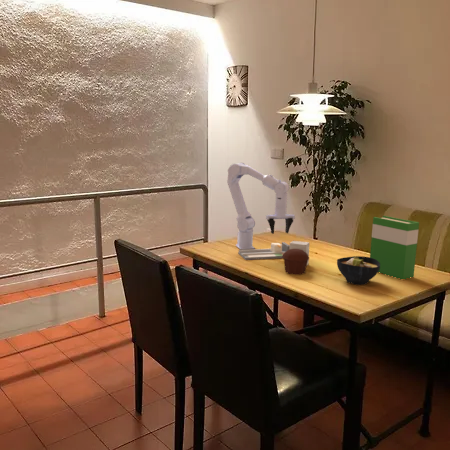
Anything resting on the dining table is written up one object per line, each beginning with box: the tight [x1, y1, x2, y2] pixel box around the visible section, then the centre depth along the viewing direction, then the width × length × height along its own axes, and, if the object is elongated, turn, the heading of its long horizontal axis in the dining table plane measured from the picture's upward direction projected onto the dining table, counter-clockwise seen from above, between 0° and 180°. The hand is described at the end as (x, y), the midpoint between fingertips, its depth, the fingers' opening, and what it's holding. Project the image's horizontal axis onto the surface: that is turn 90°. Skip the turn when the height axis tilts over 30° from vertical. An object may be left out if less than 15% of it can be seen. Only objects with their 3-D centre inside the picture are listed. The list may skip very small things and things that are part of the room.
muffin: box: [282, 249, 310, 276], centre depth 208 cm, size 12×11×10 cm
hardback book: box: [369, 215, 420, 280], centre depth 208 cm, size 18×7×24 cm, turn 34°
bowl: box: [336, 255, 380, 286], centre depth 196 cm, size 17×17×10 cm
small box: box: [289, 240, 310, 266], centre depth 219 cm, size 8×6×10 cm
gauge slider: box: [270, 242, 282, 252], centre depth 236 cm, size 8×4×4 cm, turn 14°
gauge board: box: [238, 241, 290, 261], centre depth 234 cm, size 12×24×5 cm, turn 104°
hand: (279, 233), depth 240 cm, fingers open, 7 cm apart
